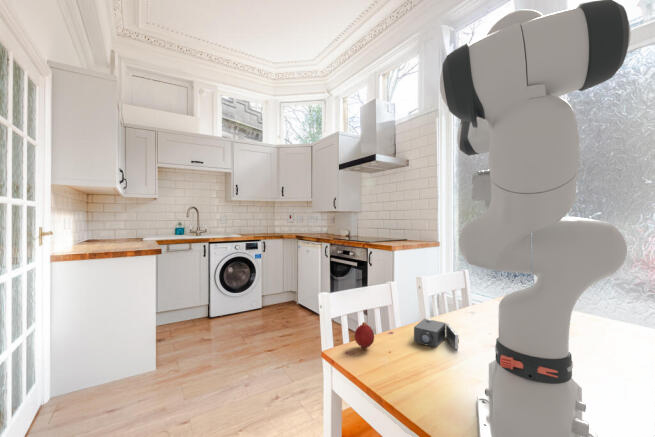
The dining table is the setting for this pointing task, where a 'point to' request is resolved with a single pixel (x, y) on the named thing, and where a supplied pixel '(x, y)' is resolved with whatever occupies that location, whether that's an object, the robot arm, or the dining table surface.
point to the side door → (452, 336)
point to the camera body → (430, 332)
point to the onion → (364, 335)
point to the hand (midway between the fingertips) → (510, 216)
